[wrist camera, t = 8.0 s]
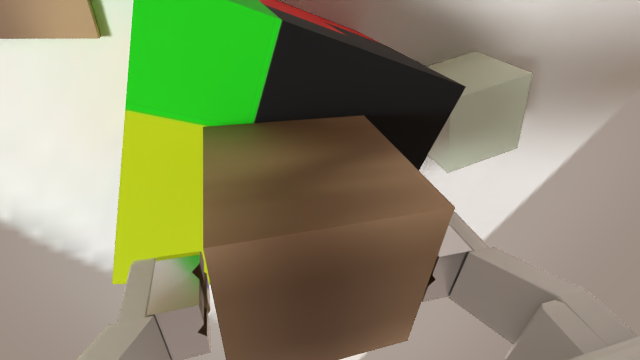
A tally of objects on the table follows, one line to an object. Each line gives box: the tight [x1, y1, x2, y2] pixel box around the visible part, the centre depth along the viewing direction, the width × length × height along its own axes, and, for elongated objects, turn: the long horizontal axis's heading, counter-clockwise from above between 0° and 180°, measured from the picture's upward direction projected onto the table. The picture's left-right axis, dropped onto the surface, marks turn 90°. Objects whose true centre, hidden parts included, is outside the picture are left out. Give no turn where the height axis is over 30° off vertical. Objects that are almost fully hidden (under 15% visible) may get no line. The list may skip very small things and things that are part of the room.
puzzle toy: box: [112, 0, 466, 284], centre depth 15 cm, size 10×10×10 cm
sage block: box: [426, 51, 533, 173], centre depth 21 cm, size 5×5×5 cm
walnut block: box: [203, 115, 455, 360], centre depth 10 cm, size 5×5×5 cm
